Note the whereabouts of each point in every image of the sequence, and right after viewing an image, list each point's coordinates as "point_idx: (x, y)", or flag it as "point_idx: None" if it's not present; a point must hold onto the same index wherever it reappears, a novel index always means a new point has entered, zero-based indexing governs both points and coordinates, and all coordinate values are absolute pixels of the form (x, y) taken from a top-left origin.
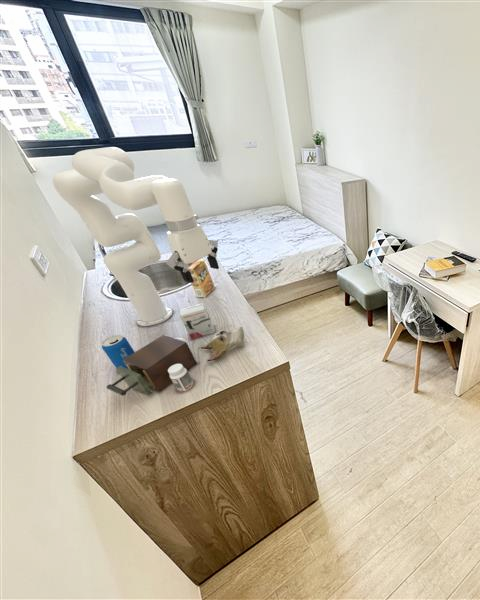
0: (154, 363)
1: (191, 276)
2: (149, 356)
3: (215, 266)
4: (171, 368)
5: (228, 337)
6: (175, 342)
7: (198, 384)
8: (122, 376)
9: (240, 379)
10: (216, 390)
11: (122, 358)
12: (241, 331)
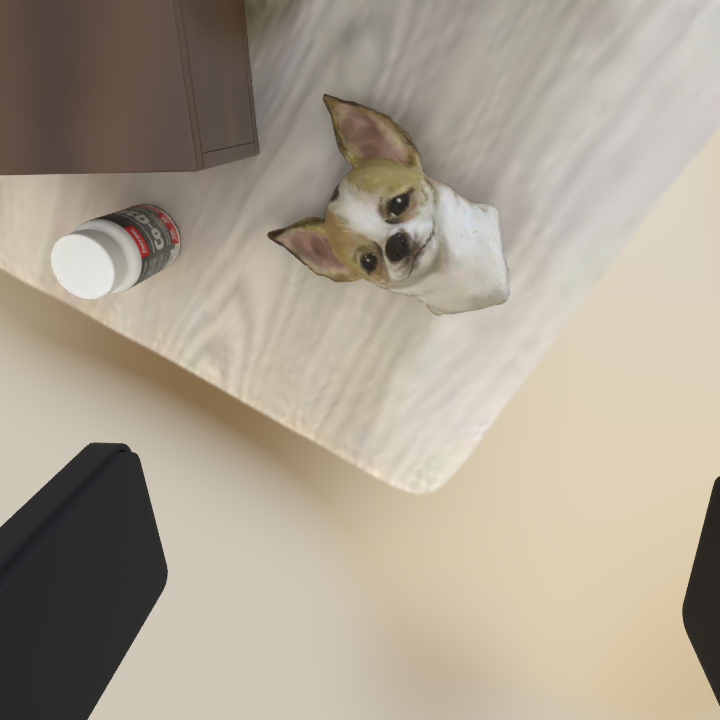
0: (2, 172)
1: (102, 678)
2: (2, 75)
3: (708, 649)
4: (69, 253)
5: (403, 281)
6: (157, 100)
7: (185, 280)
8: None
9: (288, 415)
10: (205, 372)
11: None
12: (478, 309)
